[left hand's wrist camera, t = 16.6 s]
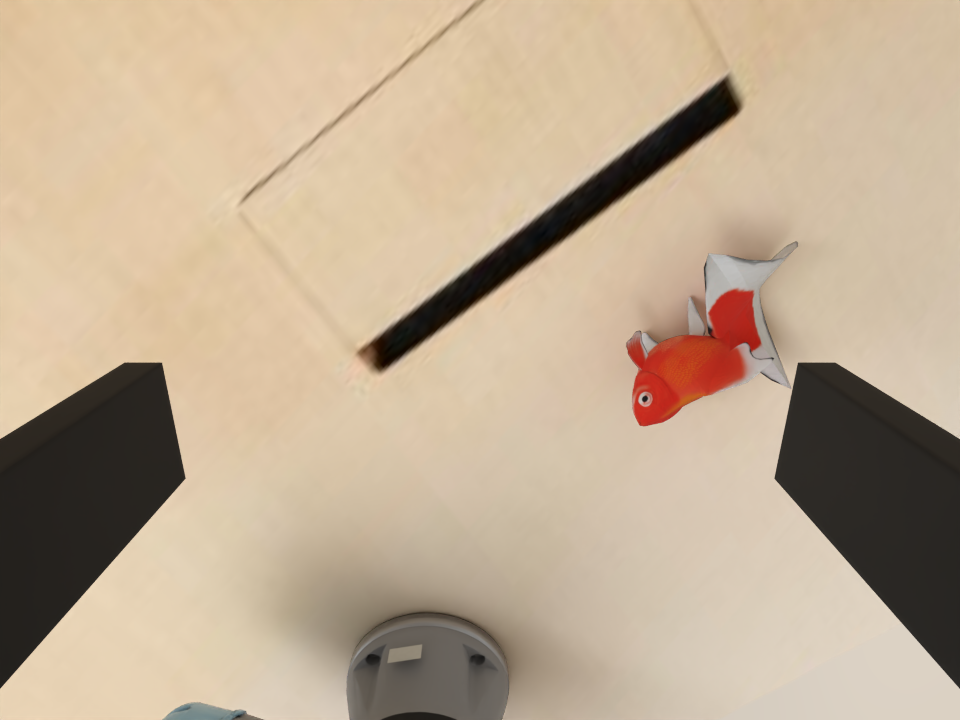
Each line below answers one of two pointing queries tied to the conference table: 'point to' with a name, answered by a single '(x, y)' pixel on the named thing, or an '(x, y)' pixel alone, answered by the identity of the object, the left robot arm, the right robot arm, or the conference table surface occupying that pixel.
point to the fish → (709, 342)
